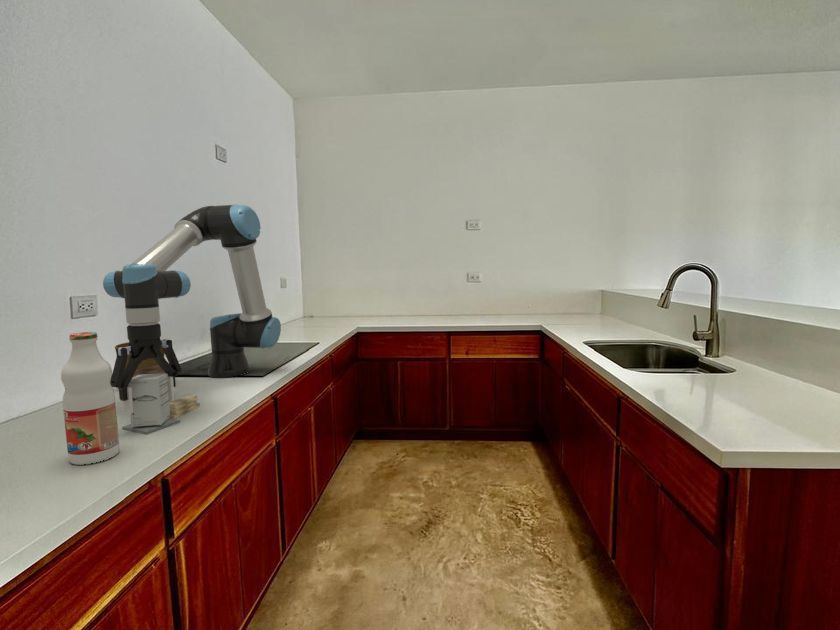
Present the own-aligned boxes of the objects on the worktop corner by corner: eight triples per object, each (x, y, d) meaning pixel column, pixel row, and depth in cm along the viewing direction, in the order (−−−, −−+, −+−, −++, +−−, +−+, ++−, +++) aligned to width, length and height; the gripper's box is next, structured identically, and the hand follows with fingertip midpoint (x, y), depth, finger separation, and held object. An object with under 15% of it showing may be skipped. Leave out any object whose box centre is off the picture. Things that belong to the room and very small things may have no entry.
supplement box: (130, 428, 118) (126, 379, 117) (142, 419, 125) (138, 374, 124) (161, 425, 119) (157, 377, 118) (171, 417, 127) (168, 372, 126)
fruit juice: (125, 455, 103) (115, 332, 100) (74, 470, 96) (61, 338, 93) (112, 445, 109) (102, 329, 106) (63, 457, 102) (50, 334, 99)
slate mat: (156, 417, 129) (156, 415, 129) (180, 422, 125) (180, 420, 125) (122, 428, 120) (122, 426, 120) (146, 434, 116) (146, 432, 116)
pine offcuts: (187, 406, 139) (186, 394, 139) (200, 407, 138) (199, 394, 138) (161, 419, 128) (160, 405, 128) (175, 419, 128) (174, 406, 127)
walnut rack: (167, 401, 144) (164, 363, 143) (169, 401, 144) (166, 364, 142) (129, 412, 133) (126, 372, 132) (131, 413, 133) (128, 372, 131)
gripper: (174, 317, 131) (179, 392, 134) (86, 329, 110) (95, 417, 113) (192, 319, 128) (197, 395, 131) (106, 330, 107) (114, 421, 110)
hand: (150, 405), depth 122 cm, fingers open, 11 cm apart
